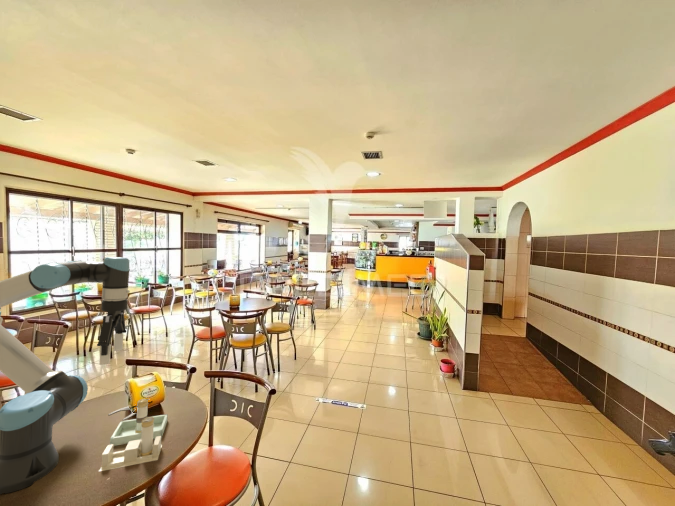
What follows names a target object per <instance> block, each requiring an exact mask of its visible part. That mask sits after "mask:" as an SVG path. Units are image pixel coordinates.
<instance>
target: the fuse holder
mask: <svg viewBox="0 0 675 506" xmlns="http://www.w3.org/2000/svg"><path fill="white" fill-rule="evenodd" d="M114 447H115V446H114V444H111V445H110V444H108V445H107V446H106V448H105V449H104V450H103V452H102V453H101V466H100V469H98V472H105V471H109V470H114V469H119V468H120V469H121V468H124V467H129V466H133V465H139V464H145V463H149V462H154V461H155V462H156V461H158V460H159V457H160V453H161V450H162V447H163V444H162V437H161V436H157V437H156V438H155V439H154V440H153V453H152V455H147V456H142V457H140V455H141V439H140V440H134V441H129V443H127V445H126V446H125V449H124V450H118V451H114Z"/></svg>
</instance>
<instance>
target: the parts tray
mask: <svg viewBox="0 0 675 506" xmlns="http://www.w3.org/2000/svg"><path fill="white" fill-rule="evenodd" d="M151 417H154V425H153V440H155V438H156V437H157V436H161V438H163V435H164V432H165V429H166V426H167V424H168V417H169V416H168V413H167V414H160V415H152V416H151ZM135 431H136V418H131V419H125V420H120V422H119V423H118V425H117V427H116V429H115V430H114V432H113V433H112V435H111V437H110V438H109V445H111V444H114V446H113V447H115V446H120V445H121V446H122V445H126V444H127V445H128V443H129V441H134V440H140V439H141V433H135Z"/></svg>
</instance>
